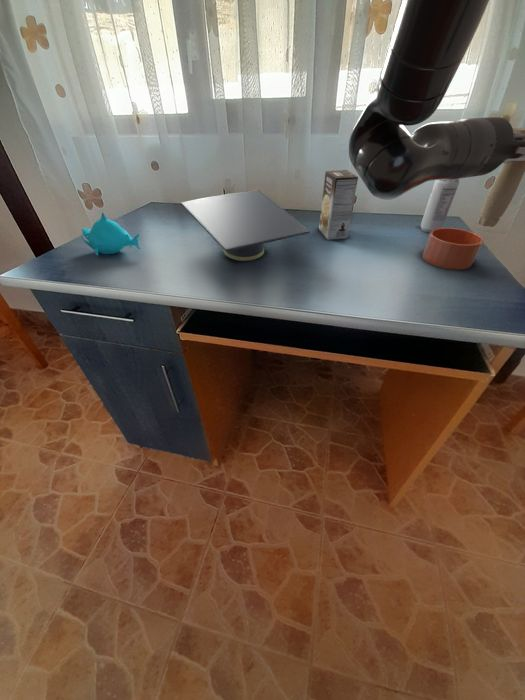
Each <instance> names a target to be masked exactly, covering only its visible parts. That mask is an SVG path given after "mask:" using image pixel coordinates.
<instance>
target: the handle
mask: <svg viewBox="0 0 525 700" xmlns="http://www.w3.org/2000/svg"><path fill="white" fill-rule="evenodd" d="M512 128H513V132H520V133H522V134H525V127H512ZM524 140H525V139H524ZM502 164H503V165H502V166H501V168H500V169H499V172H498V174H497V176H496V178H495V179H494V182H493V184H492V185H491V187H490V190H489V191H488V194H487V195H486V198H485V201H484V203H483V206H482V209H481V212H480V214H481V215H480V216H479V217H478V220H477V224H478V225H481V226H482V227H489V228H494V227H495V226H496V225H498V223H499V221H500V219H501V218H502V216H503V215H504V214H505V212H506V211H507V209H508V207H509V205H510V204H511V202H512V200H513V198H514V196H515V194H516V192H517V190H518V188H519V185H520V184H521V181H522V179H523V177H524V174H525V161H509V162H508V163H502Z"/></svg>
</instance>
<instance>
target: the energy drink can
mask: <svg viewBox="0 0 525 700" xmlns="http://www.w3.org/2000/svg"><path fill="white" fill-rule="evenodd" d="M459 185H460V179H451V180H450V179H439V180H434V183H433V187H432V190H431V193H430V195H429V199H428V202H427V204H426V206H425V207H426V208H425V210H424V214H423V217H422V219H421V222H420V225H419V226H420V228H421V231H423V232H426V233H429V234H430V232H431V231H432V230H434V229H438V228H444V227H443V226H444V224H445V221H446V219H447V216H448V213H449V211H450V209H451V205H452V204H453V201H454V198H455V195H456V192H457V190H458V187H459Z"/></svg>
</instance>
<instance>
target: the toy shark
mask: <svg viewBox="0 0 525 700" xmlns="http://www.w3.org/2000/svg"><path fill="white" fill-rule="evenodd" d="M81 231H82V232H81V239H82V240H83V242H84V243H85V244H87V246H89V247H90V248H91V249H92V250H94V254H95V255H96V256H99V254H102V255H114V254H116V253H118V252H120V251H121V250H123V249H124V248H125V247H128V246H129V247H130V248H133V246H135V247H136V248H137V249H138V250H140V249H141V248H140V246H139V237H140V234H139V233H137V234H135V236H134V237H132V236H131V235H130V234H129V232H127V230H125V228H123V227H121V226H120V224H119V223H117V222H115V221H113V220H111V219H108V218H107V217H106V216H105V213H104V211H102V212H101V216H100V218H99V219H97V220H96V221H94V223H93V225H92V227H91V229H90V228H87V227H82V228H81Z"/></svg>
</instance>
